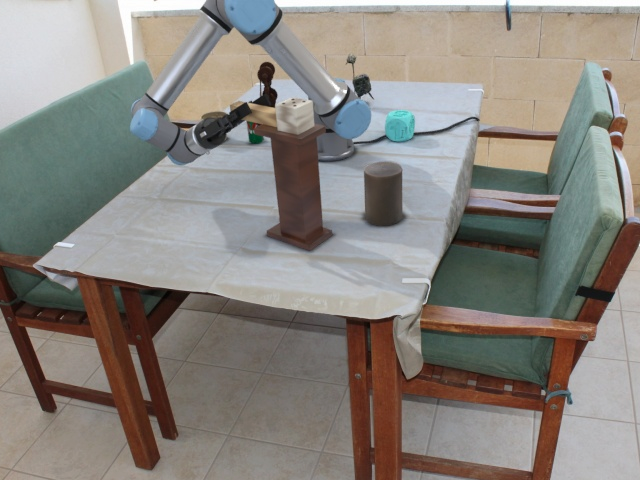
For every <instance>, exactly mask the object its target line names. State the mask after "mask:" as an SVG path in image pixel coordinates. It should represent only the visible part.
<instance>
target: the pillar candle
mask: <svg viewBox="0 0 640 480" xmlns="http://www.w3.org/2000/svg"><path fill="white" fill-rule="evenodd" d="M363 185H364V186H363V187H364V189H363V190H364V217H365V220H366V221H367V222H368V223H370V225H373V226H379V227H380V226H382V227H384V226H394V225H396V224H398V223H399V222H401V221H402V220H403V215H404V214H403V167H402V165H401V164H399V163H397V162H394V161H376V162H372V163H369V164H366V165H365V166H364V168H363Z"/></svg>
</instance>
